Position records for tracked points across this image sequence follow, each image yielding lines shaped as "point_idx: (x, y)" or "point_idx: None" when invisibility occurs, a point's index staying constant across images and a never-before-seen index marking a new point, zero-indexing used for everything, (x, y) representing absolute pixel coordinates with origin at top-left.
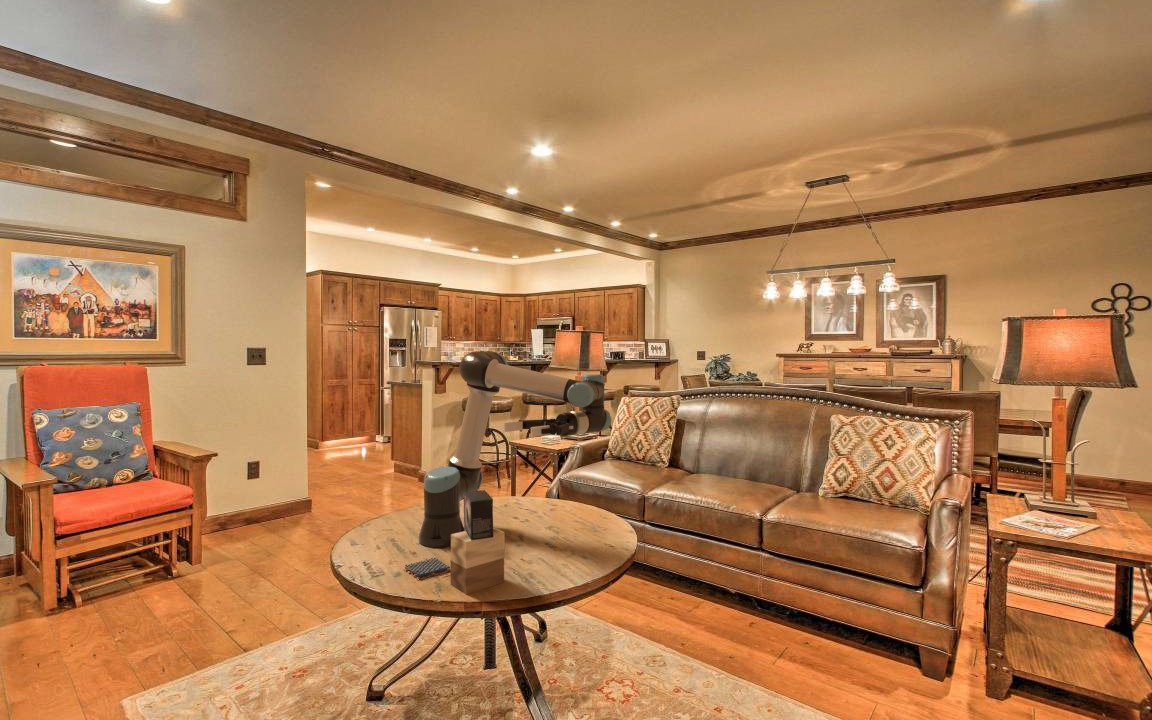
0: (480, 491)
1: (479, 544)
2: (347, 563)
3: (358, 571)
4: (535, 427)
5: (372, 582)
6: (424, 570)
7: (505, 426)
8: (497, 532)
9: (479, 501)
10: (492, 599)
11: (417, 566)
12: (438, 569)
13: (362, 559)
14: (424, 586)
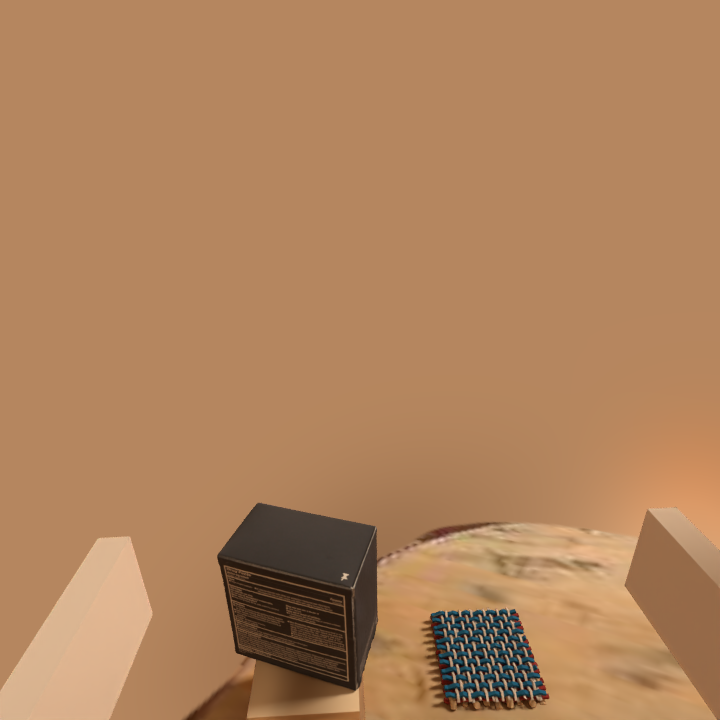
0: (338, 565)
1: None
2: (597, 540)
3: (540, 544)
4: (72, 581)
5: (468, 548)
6: (456, 631)
7: (638, 540)
8: (264, 692)
9: (242, 523)
10: (211, 712)
11: (493, 629)
12: (443, 660)
13: (617, 566)
14: (390, 614)
